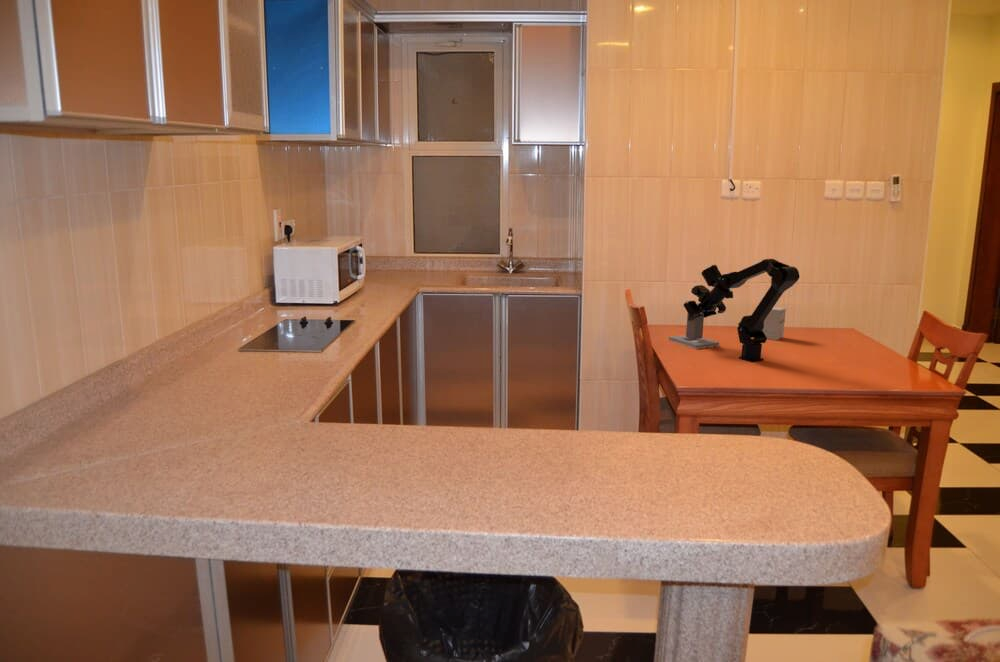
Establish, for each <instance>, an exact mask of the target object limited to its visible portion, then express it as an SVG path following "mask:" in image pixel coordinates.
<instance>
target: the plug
mask: <svg viewBox="0 0 1000 662" xmlns="http://www.w3.org/2000/svg"><path fill="white" fill-rule="evenodd" d="M700 315H701V316H700V317H698V318H696V319H693V320H690V321H689V320H688V317H689V314H688V313H687V317H686V319H687V320H686V329H685V330H686V331H685V335H686V337H688V338H692V339H698V338H702V337H704V336H703V334H704V319H705V318H704V313H700Z"/></svg>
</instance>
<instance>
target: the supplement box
mask: <svg viewBox="0 0 1000 662" xmlns="http://www.w3.org/2000/svg"><path fill="white" fill-rule="evenodd" d="M786 310H787V308H786V307H779V306H774V307H773V308H772V310H771V311H770V313H769V314H768V316H767V317H766V319H765V320H764V328H763V330H762V331H763V332H764V334H765V336H766V337H767V340H772V339H774V341H779V340H781V339H783V338H784V331H785V323H786V322H785V321H786V313H787V312H786ZM782 337H783V338H782Z"/></svg>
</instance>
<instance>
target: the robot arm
mask: <svg viewBox="0 0 1000 662" xmlns="http://www.w3.org/2000/svg"><path fill="white" fill-rule="evenodd" d="M765 273H766V274H767V275H768V276H769V277H771V280H770V284H771V285H770V286H769V288H768V289H767V291H766V293H765V295H764V296H763V297H762V299H761V300H760V302H758V304H757V306H756V307H755V309H754V311H753V312H752V314H751V315H744V316H742V317H741V320H740V322H738V323H737V325H738V326H737V329H736V330H737V335H738V339H739V343H740V344H742V345H741V355H740V356H738V358H739V359H741V360H745V361H747V362H759V361H764V360H765V358H763V357H762V350H763V349H762V348H763V344H766V342H767V340H768V339H767V337H766V336H765V334H764V332H763V331H762V330H763V328H764V320H765V319H766V317H767V316H768V314H769V313H770V311H771V310H772V308H773V307H775V306H776V304H777V303H778V301H779V300H780V298H781V297H782V296H783V293H785V292H786V291H788V290H789V289H790V288H791V287H793V286H794V285H795V284H796V283H797V282H798V281H799V279H800V271H799V270H798V268H797V267H795V266H790V265H789V264H786V263H784V262H781V261H778V260H777V259H775V258H765V259H762V260H761V261H760V262H759V261H758V262H756V263H754V264H752V265H750V266H747V267H745V268H743V269H740V270H737V271H731V272H726V273H723V274H722V273H721V271H720V270H719V268H718V266H717V265H716V264H711V266H709V267H707V268H705V269H703V270H702V271H701V276H702V278H703V279H704V281H705V283H706V284H707V286H708V287H712V289H711V290H710V289H709V288H707V287H706V286H705V285H702V284H700V285H699V284H698V285H695V286H693V287H692V288H691V290H690V291H691V292H690V293H691V294H692V295H694V296H696V297H697V298H698V299H697V301H698V303H697V301H695V300H686V301H685V302H684V303H683V308H684V309H685V310H686V312H687V314H689V317H688V320H689V321H690V320H693V319H696V318H698V317H700V316H701V315H700V313H704V319H705V318H708V317H711V316H716V315H717V313H718V314H723V313H725V312H726V310H727V307H726V304H725V303H724V300H725V299H733V298H734V294H733V293H734V292H733V290H731V289H737V288H740V287H742V286H743V285H745V284H746V283H747V281H748V280H751V279H753V278H756V277H759V276H760V275H762V274H765ZM717 309H718V310H717ZM716 310H717V311H716Z"/></svg>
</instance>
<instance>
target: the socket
mask: <svg viewBox="0 0 1000 662" xmlns="http://www.w3.org/2000/svg"><path fill="white" fill-rule="evenodd" d="M668 341H670V342H673V343H676V344H679V345H682V346H685V347H689V348H691V349H695V350H697V349H706V347H708V348H715V347H714V346H716V347H720V342H718V341H716V340H712V339H709V338H705V337H704V336H702V338H698V339H692V338H688V337H686V334H683V335H681V334H680V335H673V336H668Z"/></svg>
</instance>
